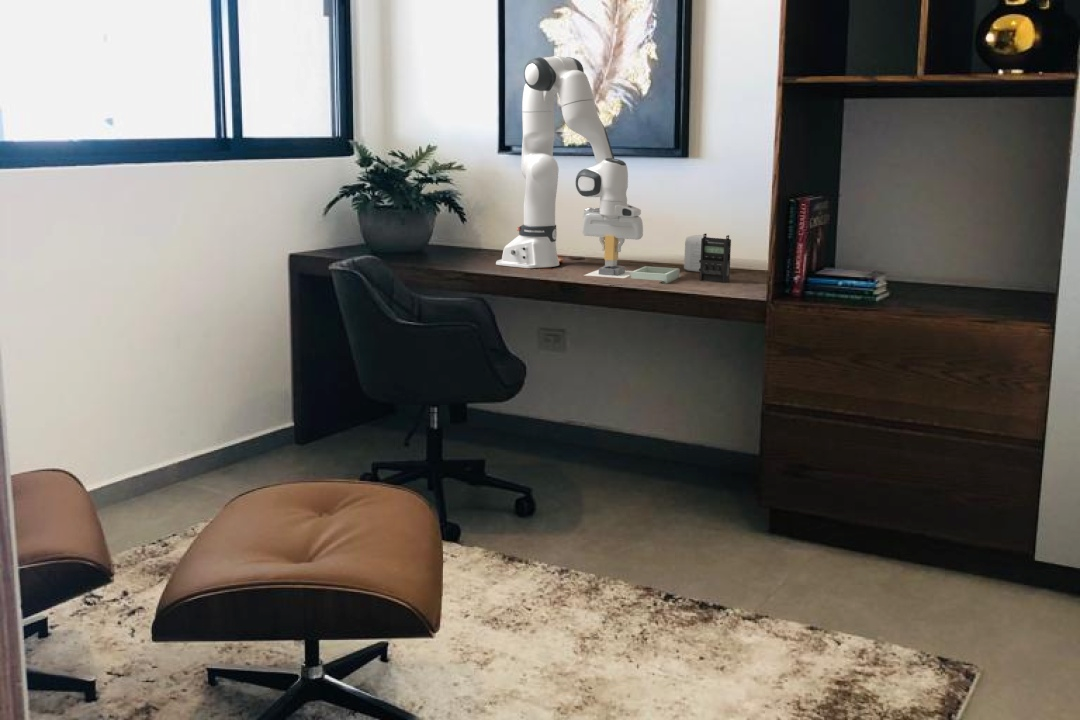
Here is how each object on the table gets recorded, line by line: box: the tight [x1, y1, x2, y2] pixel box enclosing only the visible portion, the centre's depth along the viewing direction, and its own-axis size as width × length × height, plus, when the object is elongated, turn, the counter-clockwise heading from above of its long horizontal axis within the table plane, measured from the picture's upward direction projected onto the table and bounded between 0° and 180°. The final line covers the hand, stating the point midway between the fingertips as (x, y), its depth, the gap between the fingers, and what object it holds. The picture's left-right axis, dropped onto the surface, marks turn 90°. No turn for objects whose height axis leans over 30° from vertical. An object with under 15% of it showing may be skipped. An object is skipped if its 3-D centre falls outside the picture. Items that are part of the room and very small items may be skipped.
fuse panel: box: [583, 265, 633, 279], centre depth 366 cm, size 14×16×3 cm
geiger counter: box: [699, 233, 732, 284], centre depth 356 cm, size 10×4×15 cm, turn 56°
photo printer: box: [683, 234, 711, 273], centre depth 376 cm, size 10×4×12 cm, turn 56°
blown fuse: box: [603, 235, 620, 266], centre depth 364 cm, size 3×5×10 cm, turn 156°
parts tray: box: [630, 265, 680, 285], centre depth 360 cm, size 12×14×3 cm
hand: (611, 251), depth 364 cm, fingers closed on blown fuse, 3 cm apart
